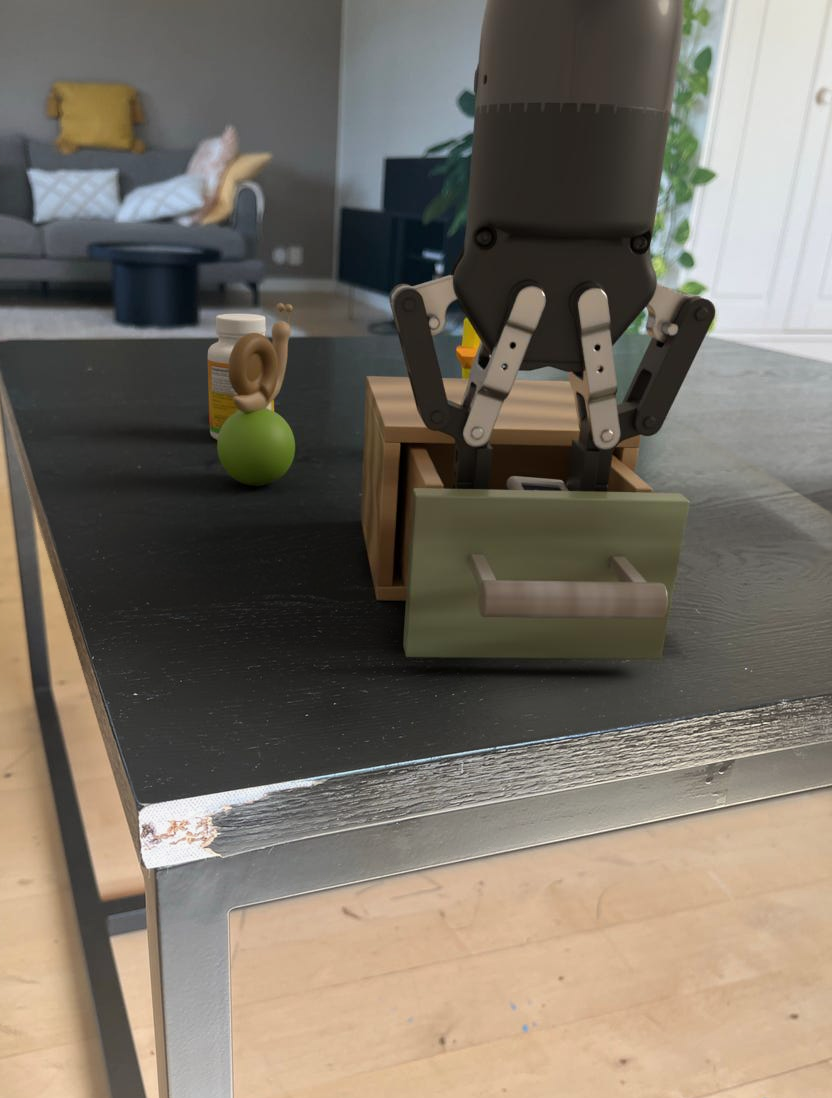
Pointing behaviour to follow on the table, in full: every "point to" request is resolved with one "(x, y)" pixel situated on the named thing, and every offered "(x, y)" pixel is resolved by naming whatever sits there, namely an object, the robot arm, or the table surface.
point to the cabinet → (393, 419)
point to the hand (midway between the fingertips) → (525, 521)
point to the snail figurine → (257, 409)
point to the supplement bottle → (218, 360)
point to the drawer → (534, 560)
